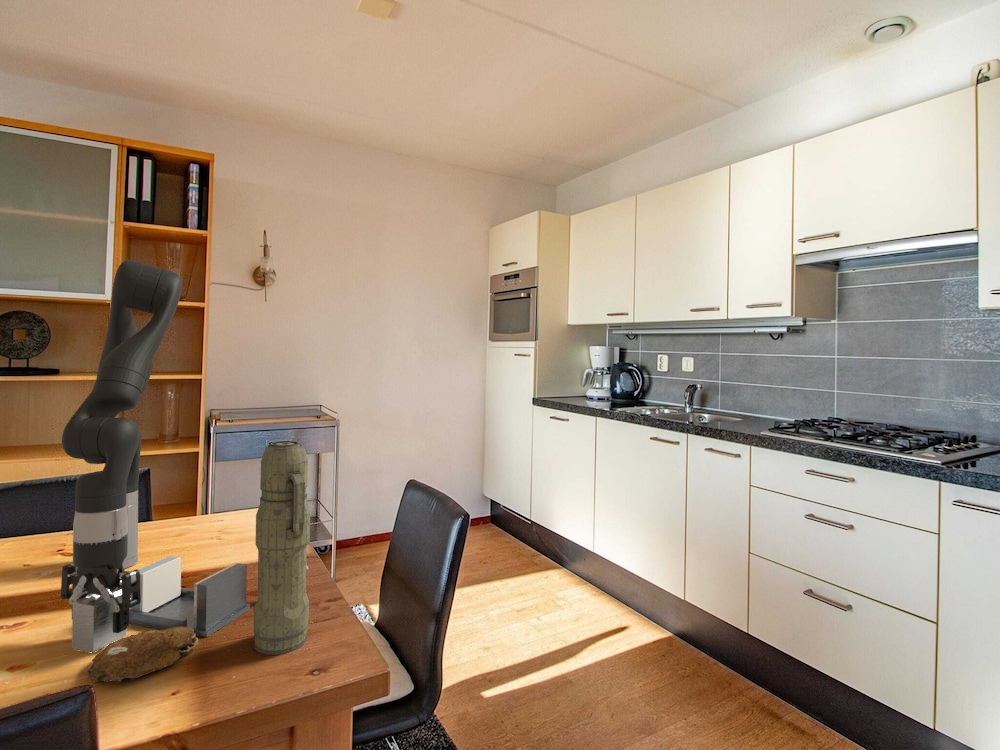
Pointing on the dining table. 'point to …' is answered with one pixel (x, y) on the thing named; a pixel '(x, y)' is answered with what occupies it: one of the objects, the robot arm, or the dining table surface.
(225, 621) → the vise
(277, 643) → the thermos
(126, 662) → the decorative rock
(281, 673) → the dining table surface
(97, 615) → the steel block
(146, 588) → the block
